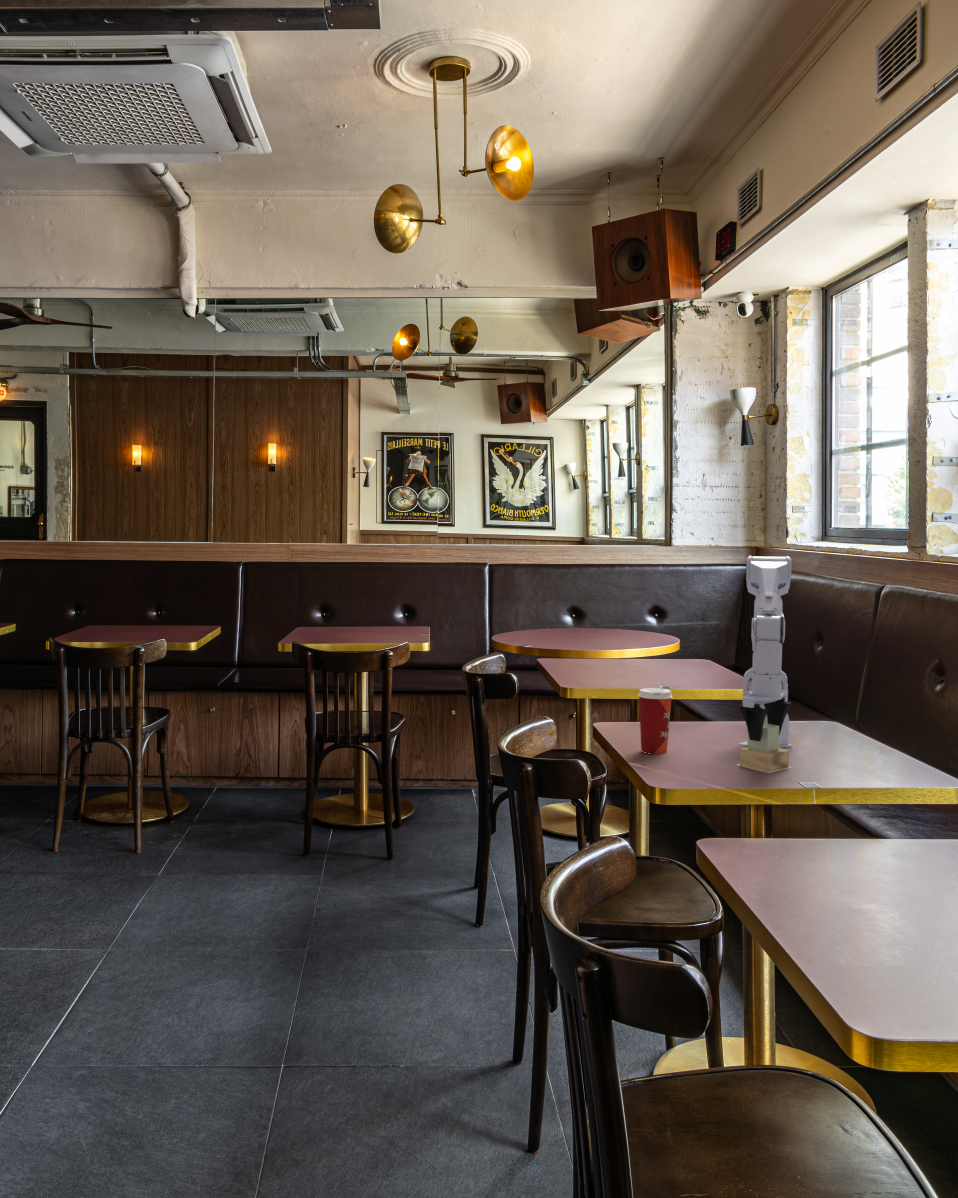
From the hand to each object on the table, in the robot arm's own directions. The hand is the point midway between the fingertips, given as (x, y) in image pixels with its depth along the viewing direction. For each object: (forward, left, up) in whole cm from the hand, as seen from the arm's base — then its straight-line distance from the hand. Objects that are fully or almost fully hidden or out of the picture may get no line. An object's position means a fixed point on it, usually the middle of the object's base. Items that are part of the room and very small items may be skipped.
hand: (764, 737), depth 181 cm
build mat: (0, 0, -6) cm, 6 cm away
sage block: (0, 0, -2) cm, 2 cm away
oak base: (0, 0, -6) cm, 6 cm away
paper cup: (+8, -23, -7) cm, 25 cm away
